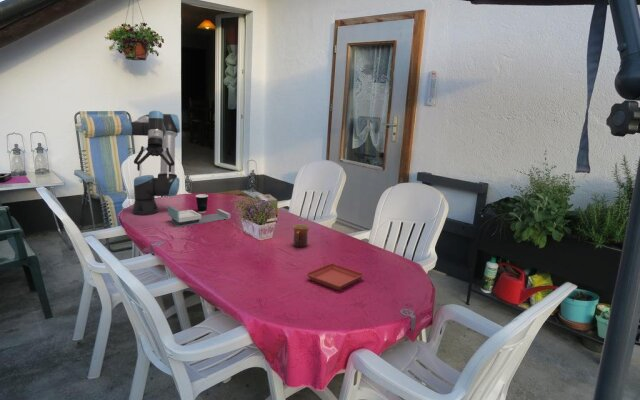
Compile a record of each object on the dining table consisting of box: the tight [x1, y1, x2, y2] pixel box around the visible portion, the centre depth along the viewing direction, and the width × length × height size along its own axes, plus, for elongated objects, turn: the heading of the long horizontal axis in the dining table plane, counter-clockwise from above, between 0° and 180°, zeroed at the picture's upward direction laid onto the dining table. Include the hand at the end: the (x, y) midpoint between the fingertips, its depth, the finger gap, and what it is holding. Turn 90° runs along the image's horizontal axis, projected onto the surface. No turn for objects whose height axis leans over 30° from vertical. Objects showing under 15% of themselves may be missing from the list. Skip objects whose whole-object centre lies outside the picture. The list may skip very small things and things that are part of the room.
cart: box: [167, 205, 202, 225], centre depth 255 cm, size 14×15×9 cm
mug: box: [292, 223, 310, 248], centre depth 223 cm, size 12×9×10 cm
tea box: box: [254, 194, 279, 219], centre depth 267 cm, size 15×10×15 cm
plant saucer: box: [306, 263, 364, 291], centre depth 185 cm, size 18×18×3 cm
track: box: [167, 208, 232, 228], centre depth 262 cm, size 14×34×3 cm, turn 130°
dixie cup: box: [195, 193, 209, 214], centre depth 279 cm, size 8×8×11 cm
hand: (154, 177), depth 228 cm, fingers open, 13 cm apart
